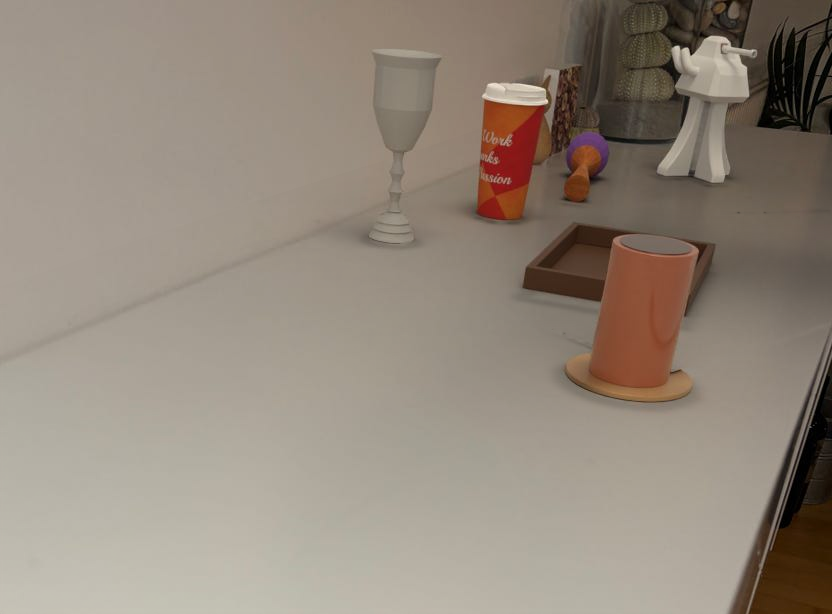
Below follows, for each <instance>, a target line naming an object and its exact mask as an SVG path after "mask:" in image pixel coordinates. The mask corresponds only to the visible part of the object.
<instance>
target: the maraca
mask: <svg viewBox="0 0 832 614" xmlns="http://www.w3.org/2000/svg"><path fill="white" fill-rule="evenodd" d="M609 157H610V148H609V144H608V142H607V141H606V139H605V137H604V136H602V135H601V134H599V133H597V132H593V131H585V132H582V133H579V134H578V135H577V136H575V137H573V139H572V140H571V142H570V143H569V145H568V147H567V149H566V154H565V161H566V167H567V168H568V170H569V171H570V172H571V175H570V176H569V177H568V178H567V179H566V182H564V187H563V192H564V195H565V197H566V198H567V200H569V201H571V202H576V203H577V202H582V201H583V200H585V199H586V198H587V197H588V195H589V194H590V189H591V184H590V178H594V177H597V176H598V175H600V174H601V173H602V172H603V171H604V169H605V168H606V166H607V164H608V161H609Z"/></svg>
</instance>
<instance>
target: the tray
mask: <svg viewBox="0 0 832 614" xmlns="http://www.w3.org/2000/svg"><path fill="white" fill-rule="evenodd" d="M631 234H643V235H655V236H662V237H668V238H673V239H677V240H681V241H684V242H687V243H689V244H691V245H693V246H695V247H696V248H697V249H698V250H699V254H698V258H697V262H696V266H695V270H694V275H693V279H692V283H691V287H690V291H689V296H688V300H687V304H686V308H685V312H684V317H687V315H688V312H689V310H690V308H691V306H692V304H693V303H694V300H695V298H696V296H697V294H698V292H699V290H700V287H701V286H702V283H703V281H704V280H705V277H706V275H707V273H708V271H709V269H710V267H711V265H712V263H713V258H714V254H715V251H716V246H717V244H716V243H712V242H706V241H699V240H694V239H687V238H680V237H675V236H668V235H661V234H654V233H648V232H642V231H636V230H628V229H623V228H615V227H610V226H603V225H596V224H589V223H583V222H577V221H573V222H572V223H570V224H569V226H567V227H566V228H565V229H564V230H563V231H562V232H561V233H560V234H559V235H558V236H557V237H556V238H555V239H554V240H553V241H551V243H550V244H548V245H547V247H545V248H544V249H543V250H542V251H541V252H540V253H539V254H538V255H537V256H536V257H535V258H534V259H532V261H530V262H529V263H528V264H527V265H526V266H525V271H524V276H523V277H524V278H523V283H522V284H523V285H522V289H525V290H531V291H536V292H541V293H546V294H547V293H548V294H553V295H559V296H565V297H570V298H576V299H581V300H588V301H592V302H599V303H601V299H602V294H603V288H604V283H605V278H606V273H607V268H608V263H609V257H610V252H611V247H612V242H613V239H614V238H616V237H618V236H622V235H631Z"/></svg>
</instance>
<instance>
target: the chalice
mask: <svg viewBox="0 0 832 614" xmlns="http://www.w3.org/2000/svg"><path fill="white" fill-rule="evenodd" d="M370 51H371V55H372V57H373V60H374V64H375V68H374V80H373V81H374V82H373V83H374V84H373V95H372V96H373V97H372V100H373V101H372V106H373V110H374V116H375V120H376V124H377V127H378V129H379V132H380V135H381V138H382V141H383V144H384V146H385V148H386V149H388V150H389V151H391V152H392V156H393V162H392V166H391V169H390V170H389V171H388V173H389V174H390V176H391V183H390V186H389V187H388V188H387V192H388V194H389V200H390V202H389V205H388V208H387V209H386V211H385V212H381V213H380V214H379V215H378V216H377V217H376V221H375V222H374V224H373V225H372V230H371V231H370V233H368V236H369V238H370V239H372V240H375V241H377V242H378V241H379V242H381V243H390V244H405V243H410V242H413V241H415V236H414V234H413V232H412V230H413V228H412V226H411V224H410V223H411V222H410V219H409V218H408V216H407V215H406V214H404V213H402V210H401V209H400V199H401V196H402V194H403V193H405V191H404V189H403V188H402V182H401V181H402V179H403V176H404V175H405V173H406V172H405V170H404V165H403V159H404V156H405V153H407V152H410V151H412V150H413V149H414V147H415V146H416V144H417V142H418V140H419V138H420V137H421V135H422V133H423V132H424V130H425V127H426V125H427V123H428V121H429V118H430V115H431V114H432V112H433V111H432V110H433V105H434V104H433V103H434V92H435V85H436V83H435V82H436V73H437V72H436V71H437V69H438V66H439V64H440V62H441V60H442V59H443V55H441V54H438V53H433V52H427V51H420V50H411V49H396V48H375V49H371V50H370Z"/></svg>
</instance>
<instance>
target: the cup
mask: <svg viewBox="0 0 832 614" xmlns="http://www.w3.org/2000/svg"><path fill="white" fill-rule="evenodd" d="M655 235H656V234H655ZM655 235H643V234H631V235H622V236H618V237H616V238H614V239H613V242H612V247H611V252H610V257H609V263H608V268H607V273H606V278H605V283H604V288H603V294H602V299H601V302H600V305H599V309H598V315H597V320H596V326H595V329H594V330H595V331H594V335H593V336H594V337H593V341H592V344H591V345H592V346H591V351H590V353H591V356H590V361H589V366H588V369H589V371H590V372H591V374H593V375H594V376H596V377H597V378H599V379H601V380H604V381H606V382H609V383H613V384H617V385H621V386H627V387H637V388H649V387H657V386H661V385H663V384H665V383H666V382H667V381H668V380H669V376H670V372H672V366H673V362H674V359H675V354H676V349H677V346H678V342H679V337H680V334H681V329H682V325H683V321H684V317H685V316H684V312H685V308H686V304H687V300H688V296H689V291H690V287H691V283H692V279H693V275H694V270H695V266H696V262H697V258H698V254H699V250H698V249H697V248H696V247H695V246H693V245H691V244H689V243H687V242H684V241H681V240H677V239H673V238H668V237H669V236H668V237H662V236H663V235H662V236H655Z"/></svg>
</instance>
